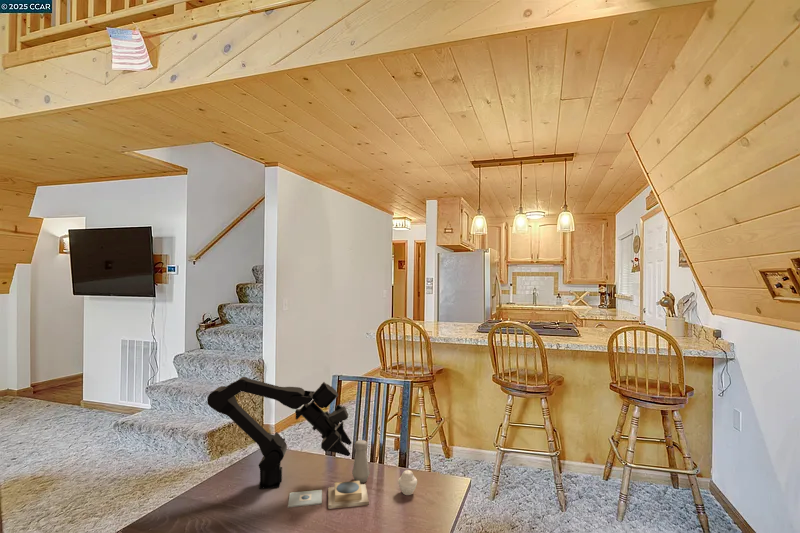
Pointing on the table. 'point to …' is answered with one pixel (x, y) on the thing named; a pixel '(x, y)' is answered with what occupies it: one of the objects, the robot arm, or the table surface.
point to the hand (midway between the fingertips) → (350, 449)
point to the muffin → (407, 482)
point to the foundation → (347, 495)
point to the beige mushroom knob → (360, 462)
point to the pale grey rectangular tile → (305, 498)
